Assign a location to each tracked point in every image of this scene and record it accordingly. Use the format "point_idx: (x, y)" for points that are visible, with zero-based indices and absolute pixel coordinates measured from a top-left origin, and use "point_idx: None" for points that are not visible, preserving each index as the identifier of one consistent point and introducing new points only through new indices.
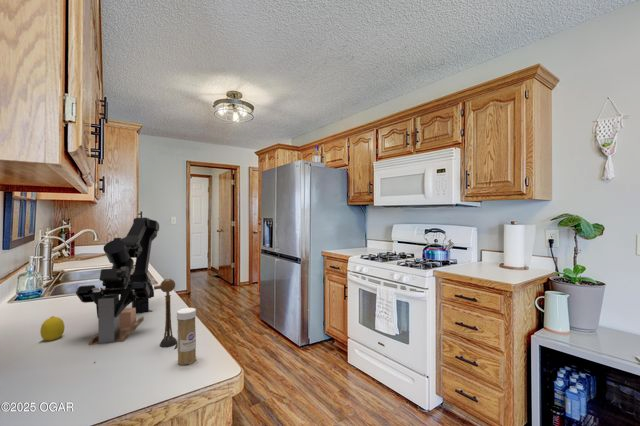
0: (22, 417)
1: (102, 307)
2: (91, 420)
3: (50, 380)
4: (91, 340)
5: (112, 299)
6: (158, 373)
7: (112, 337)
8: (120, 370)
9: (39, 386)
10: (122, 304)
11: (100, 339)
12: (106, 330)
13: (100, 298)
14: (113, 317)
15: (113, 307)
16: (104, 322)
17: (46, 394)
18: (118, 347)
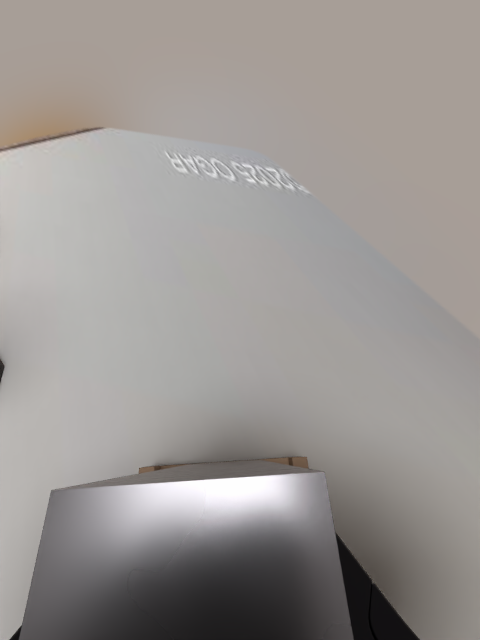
0: (239, 152)
1: (247, 469)
2: (126, 130)
3: (278, 248)
4: (295, 462)
5: (90, 489)
6: (20, 226)
7: (194, 464)
8: (116, 258)
9: (284, 229)
10: None
11: (252, 460)
12: (221, 463)
13: (312, 533)
14: (160, 470)
15: (128, 476)
16: (231, 464)
17: (245, 199)
18: (171, 446)
